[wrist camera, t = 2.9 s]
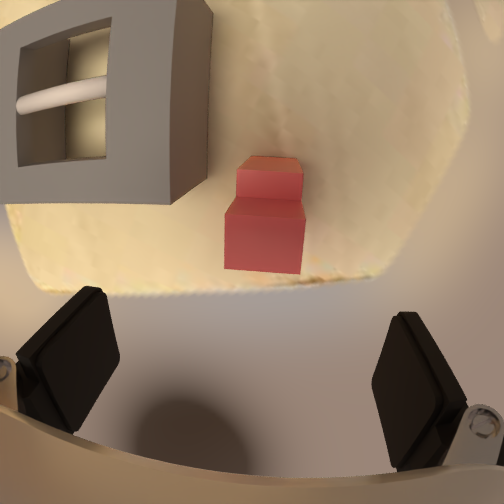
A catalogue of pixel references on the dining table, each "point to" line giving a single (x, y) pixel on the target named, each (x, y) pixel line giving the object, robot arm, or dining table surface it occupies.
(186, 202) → the dining table surface
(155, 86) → the grey frame with crossbar
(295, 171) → the red stepped block
